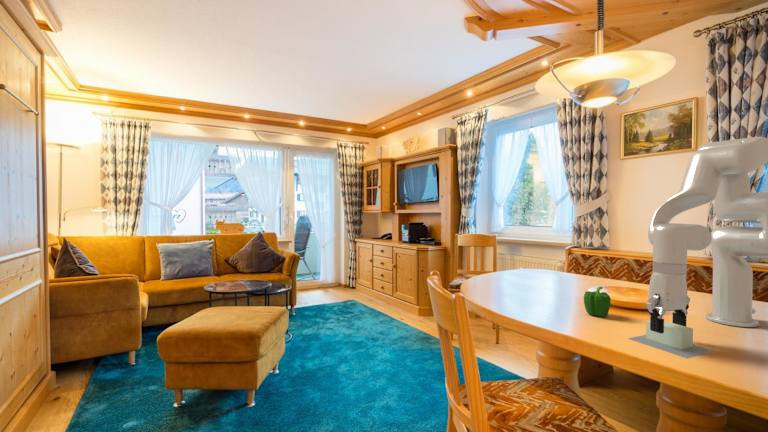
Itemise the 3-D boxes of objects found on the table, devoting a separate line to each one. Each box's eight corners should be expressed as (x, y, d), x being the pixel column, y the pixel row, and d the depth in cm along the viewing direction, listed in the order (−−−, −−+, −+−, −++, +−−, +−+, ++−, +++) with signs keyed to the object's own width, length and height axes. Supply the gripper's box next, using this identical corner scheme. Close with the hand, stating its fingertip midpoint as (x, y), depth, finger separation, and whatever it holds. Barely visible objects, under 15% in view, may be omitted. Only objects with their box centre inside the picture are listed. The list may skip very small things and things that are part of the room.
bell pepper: (596, 319, 123) (596, 290, 122) (578, 312, 131) (579, 285, 131) (617, 317, 124) (617, 289, 124) (598, 311, 132) (599, 284, 132)
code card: (654, 333, 109) (654, 332, 109) (715, 351, 95) (715, 351, 95) (627, 339, 105) (627, 338, 105) (686, 359, 91) (686, 358, 91)
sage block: (657, 335, 106) (657, 319, 106) (692, 346, 98) (693, 328, 98) (646, 338, 105) (646, 321, 105) (681, 349, 96) (681, 330, 96)
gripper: (673, 265, 108) (672, 322, 108) (634, 268, 101) (633, 329, 101) (704, 269, 101) (702, 330, 101) (664, 273, 94) (662, 338, 94)
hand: (668, 329), depth 101 cm, fingers open, 9 cm apart
